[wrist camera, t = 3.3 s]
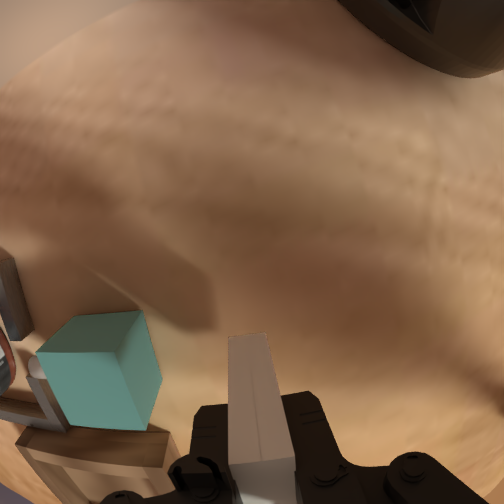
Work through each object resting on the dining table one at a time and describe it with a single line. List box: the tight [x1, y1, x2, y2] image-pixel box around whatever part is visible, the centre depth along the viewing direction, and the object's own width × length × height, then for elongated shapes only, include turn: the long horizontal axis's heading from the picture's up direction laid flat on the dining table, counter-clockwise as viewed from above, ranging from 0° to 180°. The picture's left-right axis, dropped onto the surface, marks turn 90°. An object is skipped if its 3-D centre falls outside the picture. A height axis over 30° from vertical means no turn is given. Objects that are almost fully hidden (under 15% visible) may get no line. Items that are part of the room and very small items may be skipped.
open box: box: [15, 426, 181, 504], centre depth 15 cm, size 11×11×3 cm
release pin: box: [28, 310, 162, 430], centre depth 12 cm, size 6×4×4 cm, turn 97°
